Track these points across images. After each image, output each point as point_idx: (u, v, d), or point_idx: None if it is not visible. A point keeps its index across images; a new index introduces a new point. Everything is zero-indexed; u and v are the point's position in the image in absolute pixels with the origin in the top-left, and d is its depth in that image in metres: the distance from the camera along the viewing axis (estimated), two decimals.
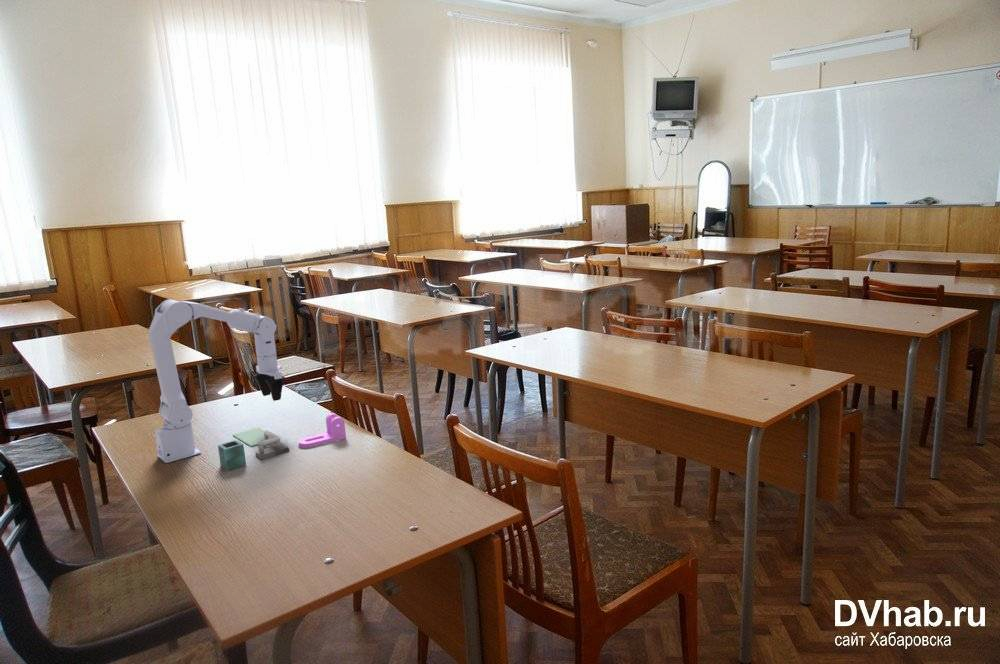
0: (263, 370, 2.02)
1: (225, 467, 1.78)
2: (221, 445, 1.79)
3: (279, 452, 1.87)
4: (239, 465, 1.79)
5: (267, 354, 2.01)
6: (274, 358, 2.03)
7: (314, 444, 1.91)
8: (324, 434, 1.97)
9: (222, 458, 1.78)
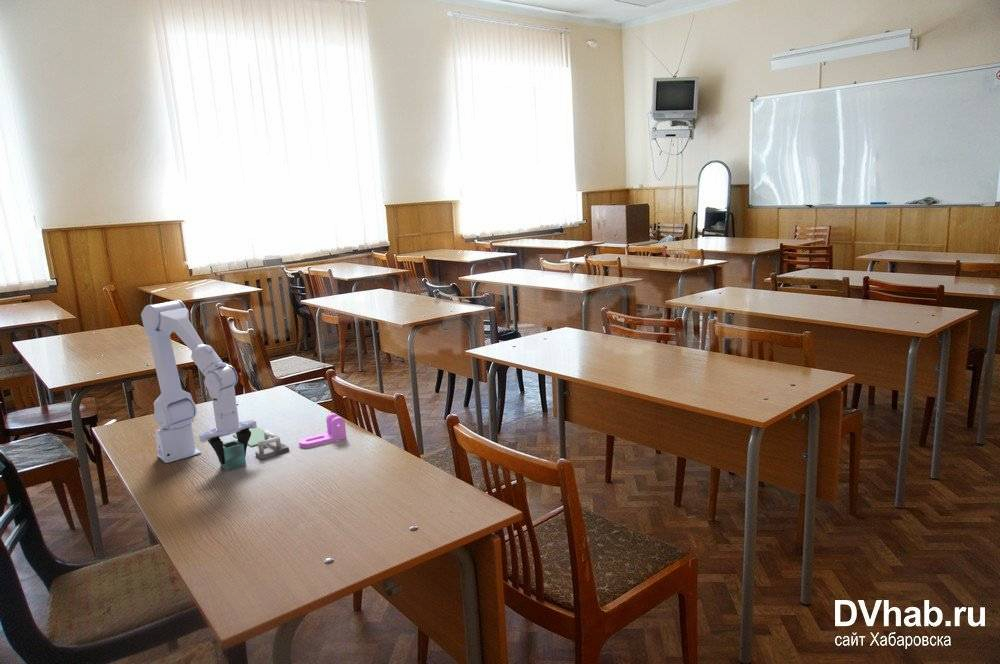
0: None
1: (225, 467, 1.78)
2: None
3: (279, 452, 1.87)
4: (239, 465, 1.79)
5: (214, 412, 1.75)
6: (218, 419, 1.75)
7: (314, 444, 1.91)
8: (324, 434, 1.97)
9: None
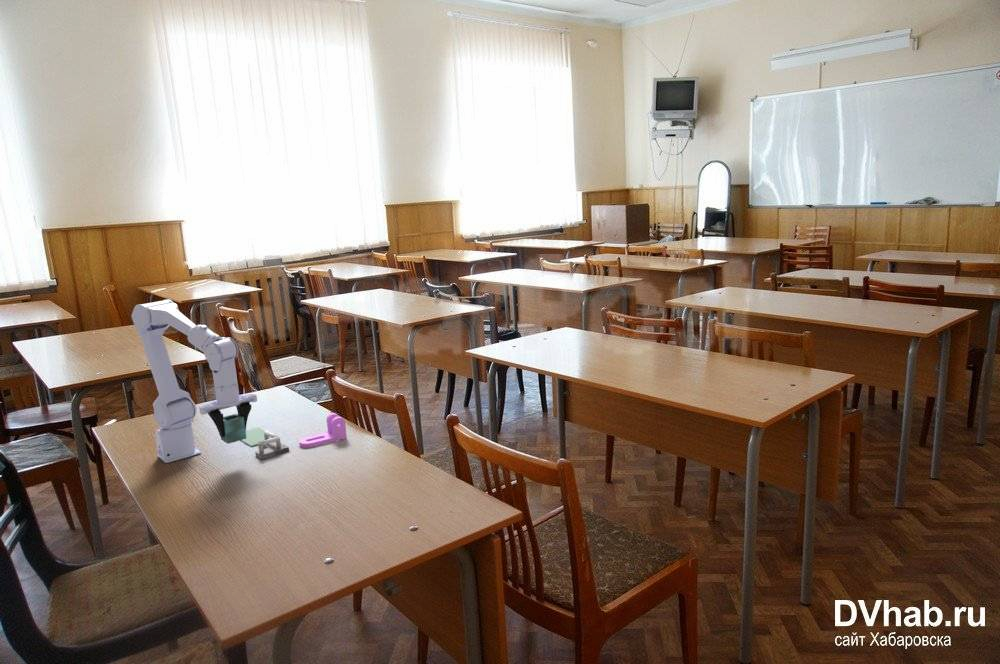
0: None
1: (225, 440, 1.77)
2: None
3: (279, 452, 1.87)
4: (239, 438, 1.78)
5: (215, 384, 1.74)
6: (218, 391, 1.74)
7: (315, 444, 1.91)
8: (325, 434, 1.97)
9: None
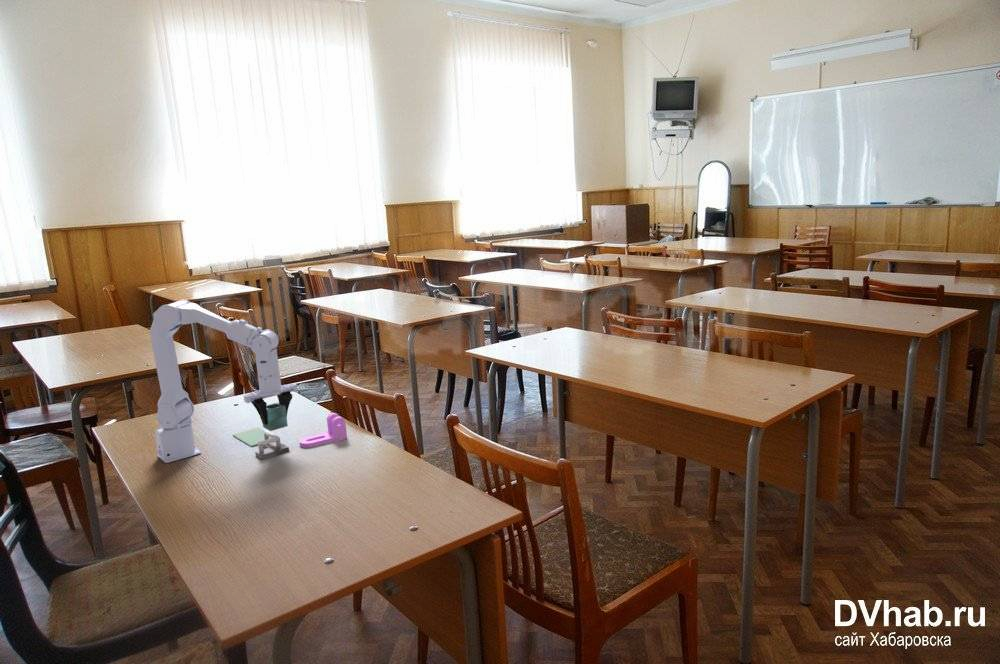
0: None
1: (268, 428, 1.85)
2: None
3: (279, 452, 1.87)
4: (281, 426, 1.86)
5: (262, 374, 1.82)
6: (262, 380, 1.82)
7: (315, 444, 1.91)
8: (325, 434, 1.97)
9: None
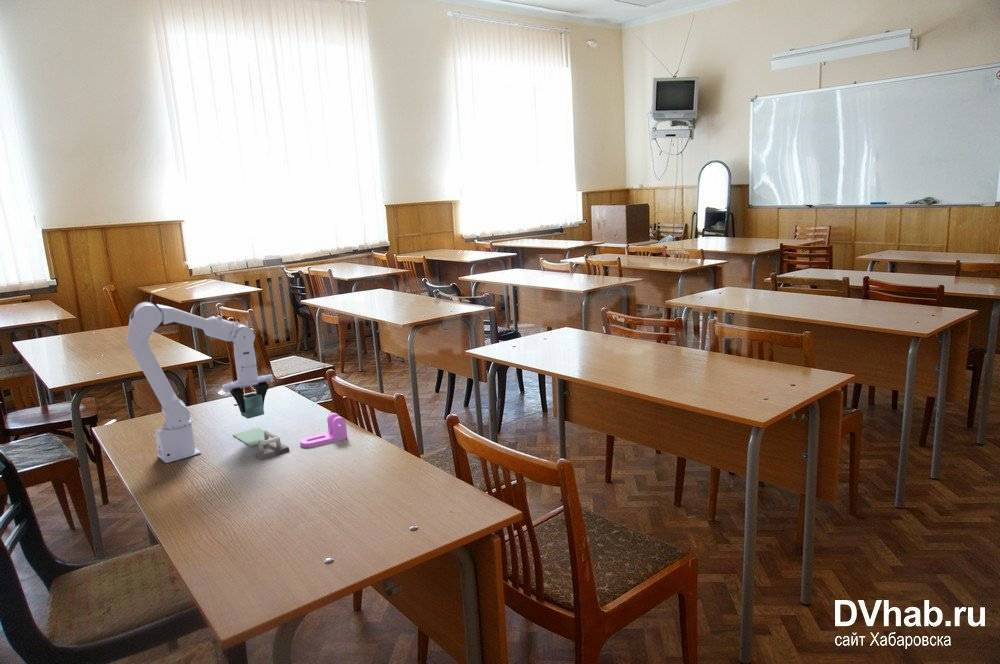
0: None
1: (245, 416, 1.97)
2: None
3: (279, 452, 1.87)
4: (258, 414, 1.98)
5: (245, 365, 1.93)
6: (239, 371, 1.94)
7: (315, 444, 1.91)
8: (325, 434, 1.97)
9: None
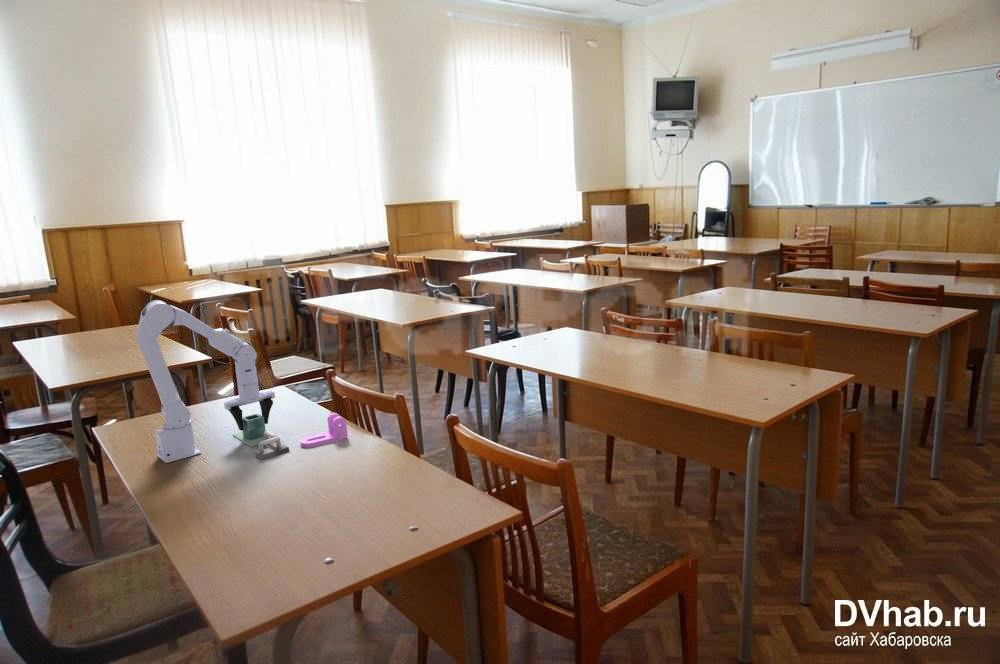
0: None
1: (247, 437, 1.99)
2: (244, 418, 2.00)
3: (279, 452, 1.87)
4: (260, 436, 2.00)
5: (247, 383, 1.95)
6: (241, 388, 1.95)
7: (316, 444, 1.91)
8: (326, 434, 1.97)
9: (244, 429, 1.99)
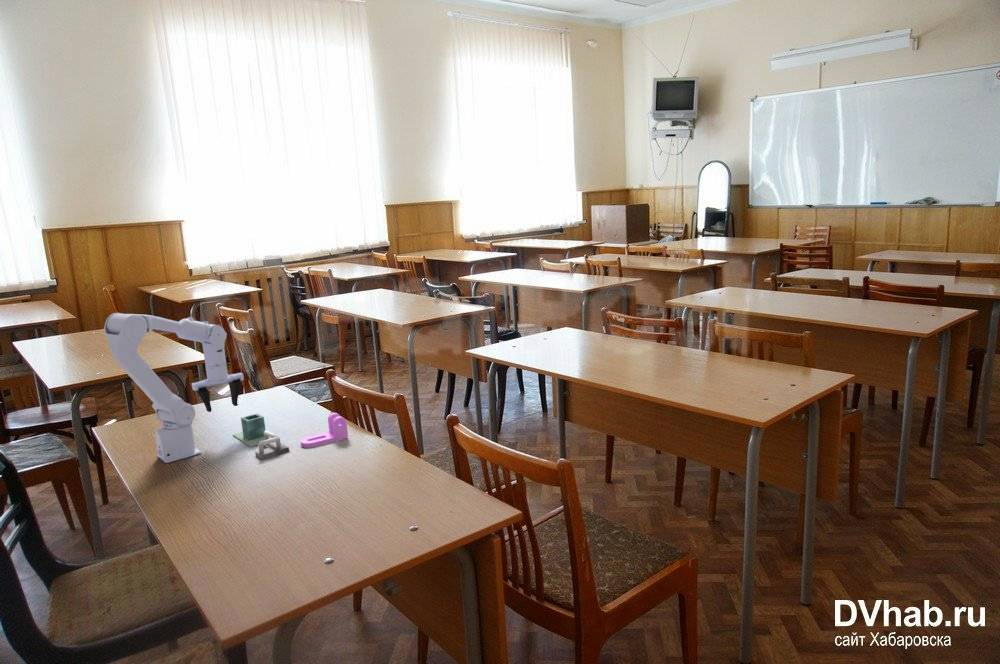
0: None
1: (247, 437, 1.99)
2: (244, 418, 2.00)
3: (279, 452, 1.87)
4: (260, 436, 2.00)
5: (219, 363, 1.96)
6: (209, 370, 1.95)
7: (316, 444, 1.92)
8: (326, 434, 1.97)
9: (244, 429, 1.99)
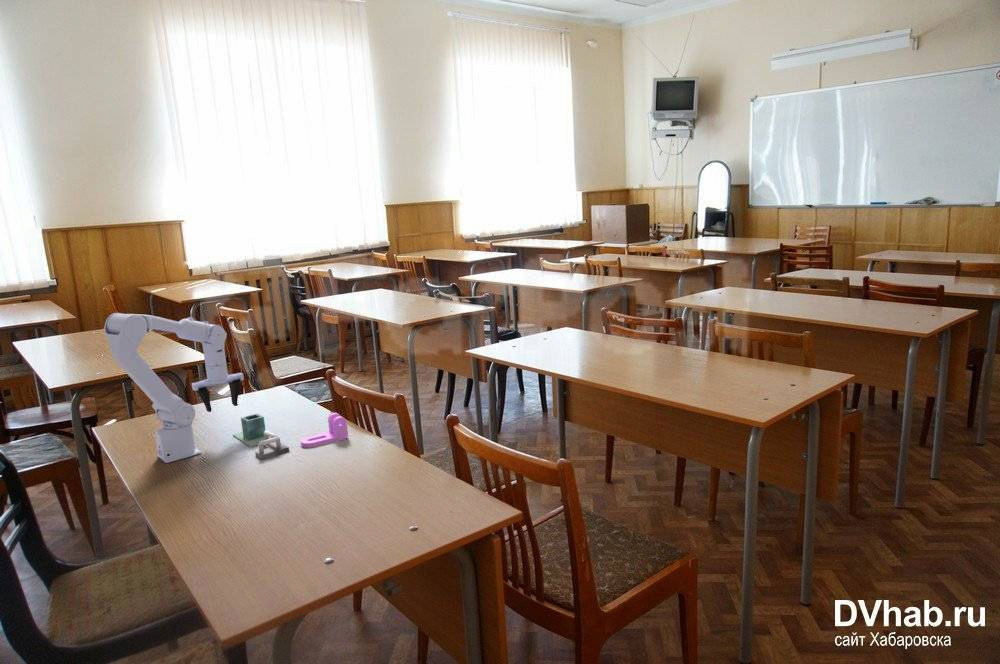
0: None
1: (247, 437, 1.99)
2: (244, 418, 2.00)
3: (279, 452, 1.87)
4: (260, 436, 2.00)
5: (219, 363, 1.96)
6: (209, 370, 1.95)
7: (316, 443, 1.92)
8: (326, 434, 1.97)
9: (244, 429, 1.99)
